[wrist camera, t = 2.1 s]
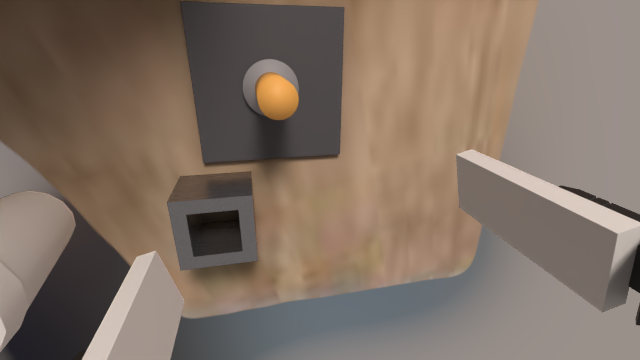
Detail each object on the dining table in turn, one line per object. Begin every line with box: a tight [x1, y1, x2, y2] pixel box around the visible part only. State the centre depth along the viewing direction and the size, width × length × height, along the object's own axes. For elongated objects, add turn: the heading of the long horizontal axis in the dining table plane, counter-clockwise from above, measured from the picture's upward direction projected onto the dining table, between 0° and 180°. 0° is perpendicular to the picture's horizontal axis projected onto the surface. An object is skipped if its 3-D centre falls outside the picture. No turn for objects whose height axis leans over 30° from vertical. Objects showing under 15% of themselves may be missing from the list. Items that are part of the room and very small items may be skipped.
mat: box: [180, 2, 344, 163], centre depth 30 cm, size 14×14×1 cm
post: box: [243, 59, 299, 120], centre depth 27 cm, size 5×5×8 cm
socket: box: [167, 172, 258, 270], centre depth 31 cm, size 7×7×6 cm
